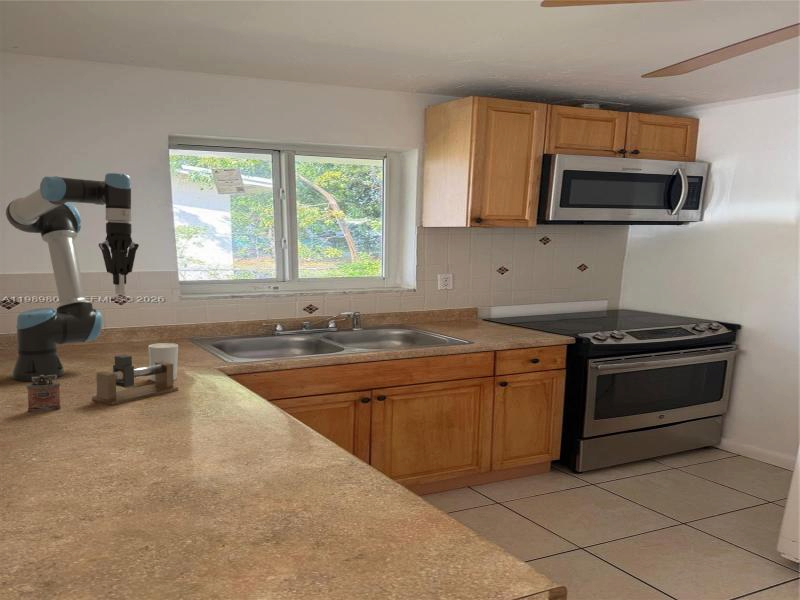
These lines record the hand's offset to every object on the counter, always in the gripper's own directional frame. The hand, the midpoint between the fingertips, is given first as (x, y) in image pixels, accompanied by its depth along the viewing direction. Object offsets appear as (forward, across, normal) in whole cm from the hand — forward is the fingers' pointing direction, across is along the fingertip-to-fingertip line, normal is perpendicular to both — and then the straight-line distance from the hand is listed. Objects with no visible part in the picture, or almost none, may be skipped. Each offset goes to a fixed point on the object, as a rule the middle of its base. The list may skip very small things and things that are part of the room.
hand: (120, 294), depth 198 cm
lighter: (+31, -30, -10) cm, 44 cm away
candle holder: (+31, +14, -3) cm, 34 cm away
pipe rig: (+30, -4, -15) cm, 34 cm away
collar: (+26, -9, -15) cm, 32 cm away
